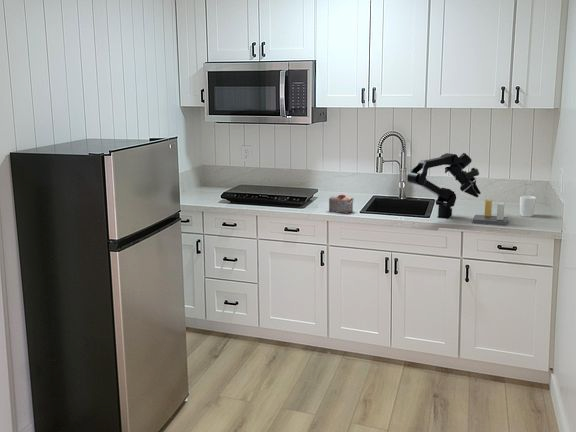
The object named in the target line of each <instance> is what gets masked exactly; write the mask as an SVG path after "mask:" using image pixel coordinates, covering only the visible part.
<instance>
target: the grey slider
mask: <svg viewBox="0 0 576 432" xmlns="http://www.w3.org/2000/svg"><path fill="white" fill-rule="evenodd" d="M496 208H497V209H496V216H497V220H503V219H504V217H505V202H498V203H497V207H496Z"/></svg>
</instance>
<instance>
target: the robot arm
mask: <svg viewBox="0 0 576 432" xmlns="http://www.w3.org/2000/svg"><path fill="white" fill-rule="evenodd" d="M471 163H472V158H471V157H470V156H469V155H468V154H467V153H466V152H462V154H460V155H457V154H456V153H444V154H441V156H438V157H433V158H429V159H424V160H419V162H418V163H417V164H416V165H415V166H414V167H413V168H412V169H411V170H410V171H409V173H408V175H407V177H406V178H407V179H406V180H407V182H408V183H410V184H413V185H415V186H416V185H417V186H420V187H422V188H424V189H425V190H427V191H428V192H430V193H432V194H434V195H436V196H437V199H435V205H437V207H438V209H437V210H438V211H437V216H436V217H437V218H438V219H439V218H441V219H442V218H443V219H451V218H452V217H453V207H454V206H455V204H456V200H457V194H456V193H455V191H453V190H452V189H450V188H446V187H439V186H437V185H436V184H434V183H433V182H431V181H429V180H428V179H427V176H428V170H429V169H430V168H435V167H439V166H444V165H445V167H444V174H447V173H448V172H449V173H450V174H451V175H452V177H454V179H455V181H456V182H458V183H459V184H460V186H459V188H460V190H461V192H463V193H466V194H468V195H470V196H473V197H475V198H479V196H480V195H481V193H482V192H481V191H480V189H479V187H478V185H477V176H479V175H480V172H479V171H480V170H479V169H478V168H476V167H472V168H470V171H466V170H465V169H466V168H467V167H468V166H469V165H470V164H471ZM420 171H421V173H420Z"/></svg>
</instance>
